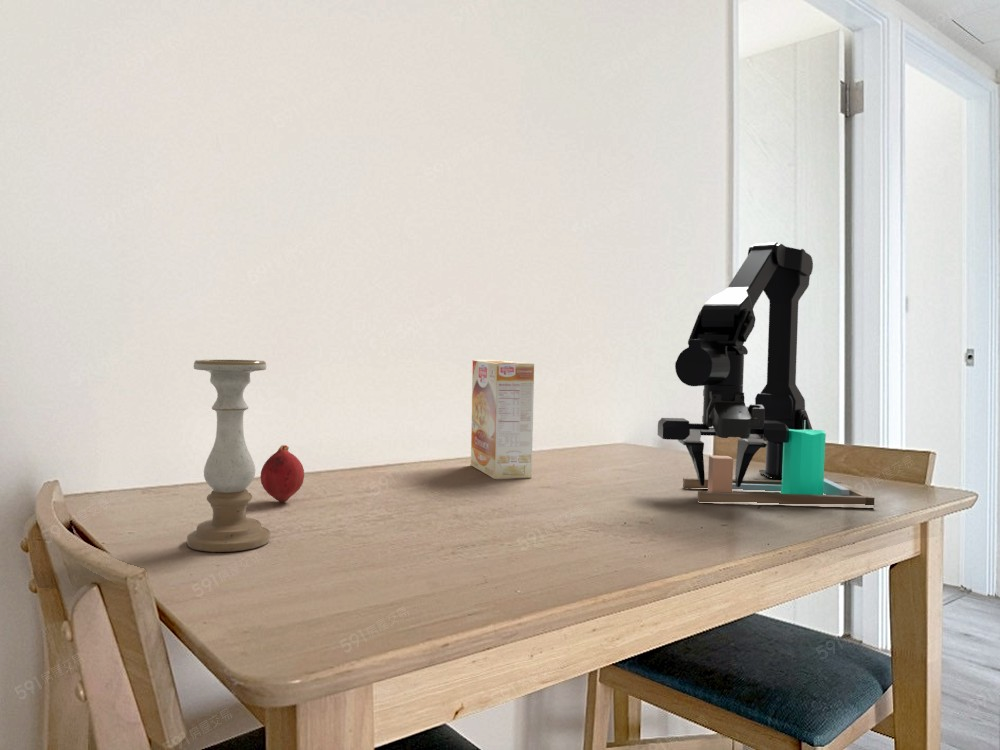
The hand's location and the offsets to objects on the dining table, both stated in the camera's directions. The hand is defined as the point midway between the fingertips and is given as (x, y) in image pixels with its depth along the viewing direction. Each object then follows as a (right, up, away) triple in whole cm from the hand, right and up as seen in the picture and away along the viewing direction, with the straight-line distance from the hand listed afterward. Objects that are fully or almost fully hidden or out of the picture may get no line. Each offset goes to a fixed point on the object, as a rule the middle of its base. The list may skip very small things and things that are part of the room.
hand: (719, 486), depth 122 cm
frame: (+8, -2, 0) cm, 8 cm away
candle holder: (-64, -2, -33) cm, 72 cm away
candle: (+12, -2, 0) cm, 13 cm away
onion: (-64, -1, -11) cm, 65 cm away
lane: (+8, -2, 0) cm, 8 cm away
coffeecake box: (-34, 0, +18) cm, 38 cm away
